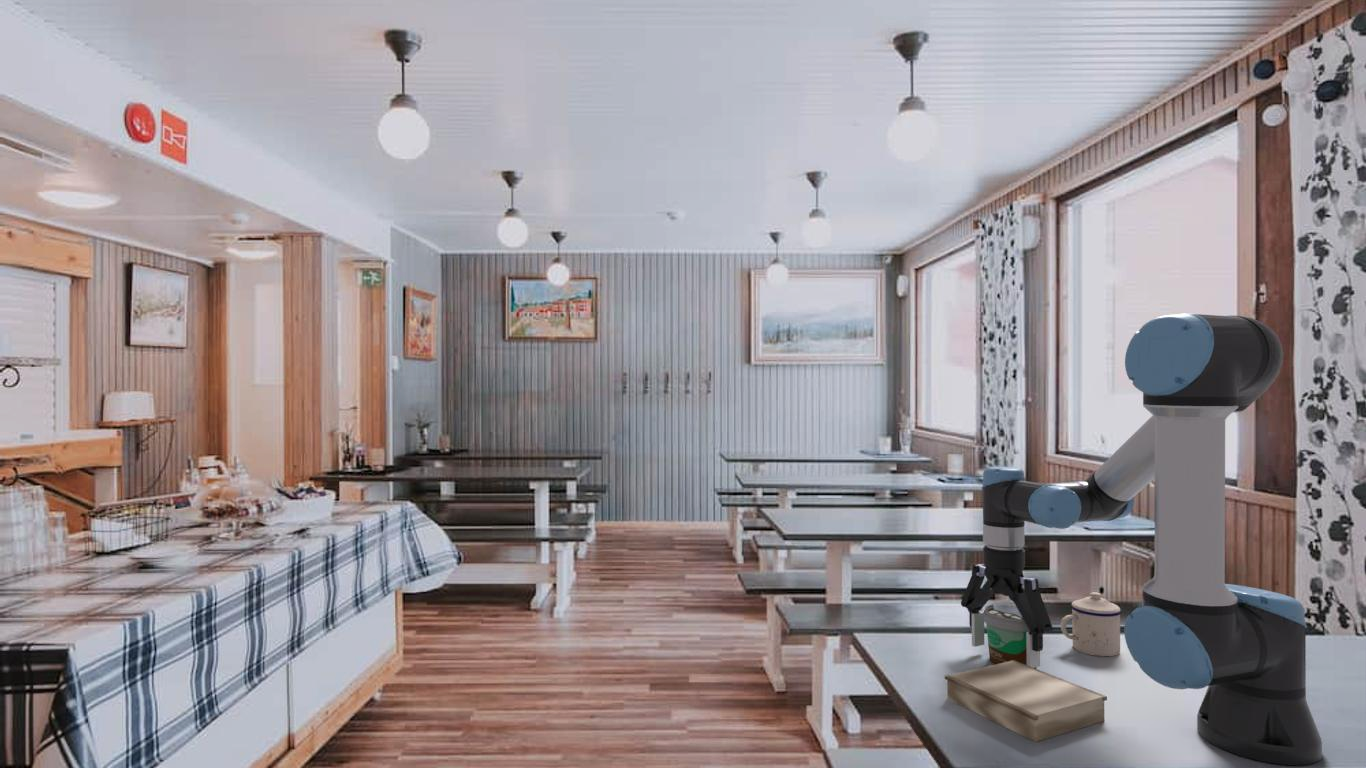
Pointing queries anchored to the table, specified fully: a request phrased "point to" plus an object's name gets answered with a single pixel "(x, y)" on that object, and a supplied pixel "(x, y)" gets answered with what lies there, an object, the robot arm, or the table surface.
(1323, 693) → the table surface
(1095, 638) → the teacup with lid
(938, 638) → the table surface
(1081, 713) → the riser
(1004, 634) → the food container
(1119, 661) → the table surface
